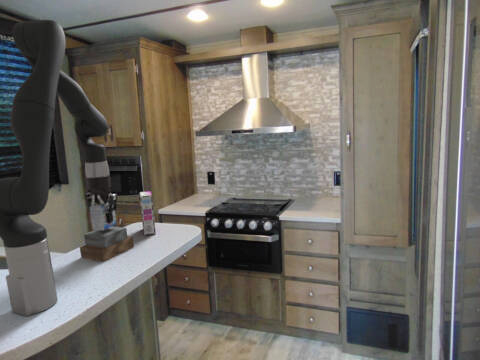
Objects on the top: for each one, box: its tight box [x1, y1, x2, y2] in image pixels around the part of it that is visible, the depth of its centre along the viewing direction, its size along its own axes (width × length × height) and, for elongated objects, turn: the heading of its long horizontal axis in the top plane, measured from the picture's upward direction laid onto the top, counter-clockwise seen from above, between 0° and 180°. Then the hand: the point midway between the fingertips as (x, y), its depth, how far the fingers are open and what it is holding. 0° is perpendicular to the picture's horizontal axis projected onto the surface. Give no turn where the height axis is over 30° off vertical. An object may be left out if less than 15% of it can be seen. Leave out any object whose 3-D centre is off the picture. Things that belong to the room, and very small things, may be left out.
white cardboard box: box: [139, 190, 156, 237], centre depth 143 cm, size 11×5×16 cm, turn 17°
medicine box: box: [89, 202, 117, 231], centre depth 121 cm, size 8×4×9 cm, turn 168°
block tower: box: [79, 225, 135, 262], centre depth 122 cm, size 14×11×8 cm
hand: (104, 222), depth 121 cm, fingers closed on medicine box, 5 cm apart
